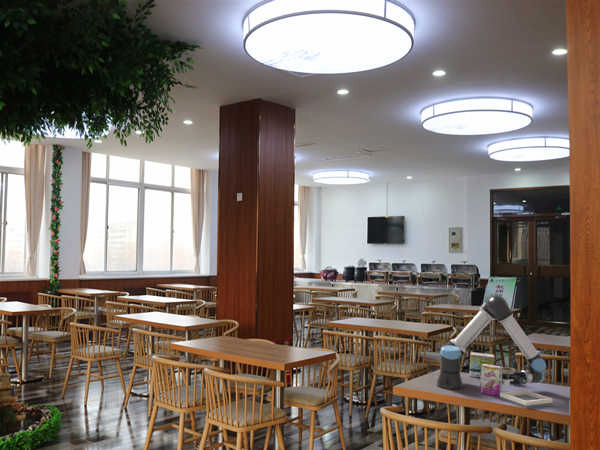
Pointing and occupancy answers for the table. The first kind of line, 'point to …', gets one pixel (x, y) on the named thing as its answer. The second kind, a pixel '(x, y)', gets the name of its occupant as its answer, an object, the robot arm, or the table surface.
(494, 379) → the candy bar box
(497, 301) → the robot arm
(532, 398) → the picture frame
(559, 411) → the table surface
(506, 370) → the flower pot
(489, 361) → the tea box
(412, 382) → the table surface
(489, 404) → the table surface
